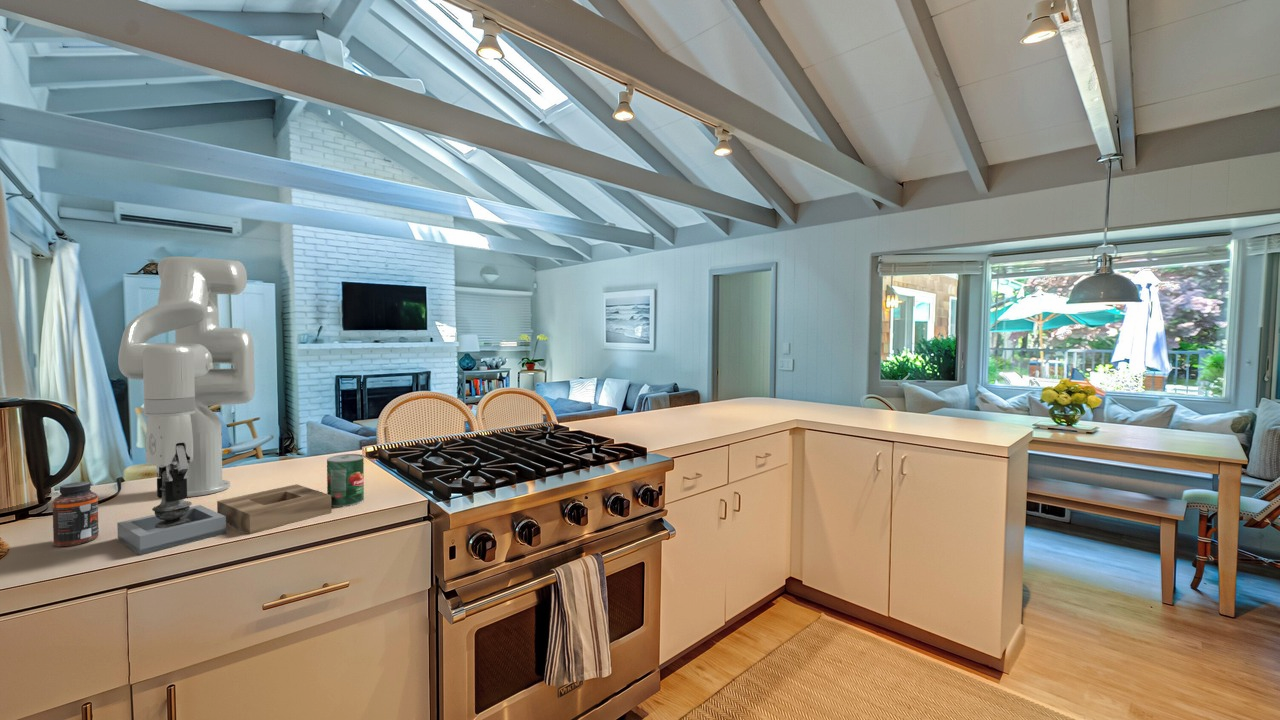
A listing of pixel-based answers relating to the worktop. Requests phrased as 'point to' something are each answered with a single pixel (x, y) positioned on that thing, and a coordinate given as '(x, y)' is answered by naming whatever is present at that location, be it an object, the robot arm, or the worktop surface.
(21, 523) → the worktop surface
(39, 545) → the worktop surface
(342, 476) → the canned tomato
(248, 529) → the socket block
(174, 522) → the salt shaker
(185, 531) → the tray
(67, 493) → the supplement bottle
